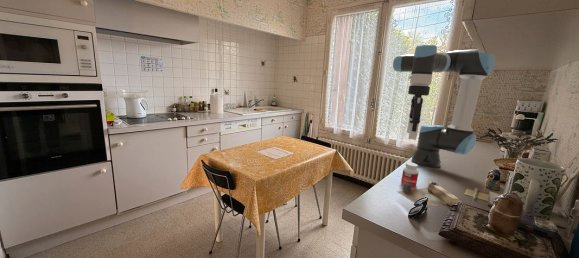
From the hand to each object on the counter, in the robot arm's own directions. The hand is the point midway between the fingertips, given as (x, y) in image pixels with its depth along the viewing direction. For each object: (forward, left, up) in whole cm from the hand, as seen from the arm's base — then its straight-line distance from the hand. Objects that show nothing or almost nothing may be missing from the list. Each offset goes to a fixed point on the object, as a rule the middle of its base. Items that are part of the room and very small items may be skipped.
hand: (411, 135), depth 100 cm
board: (-2, +11, -24) cm, 27 cm away
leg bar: (-7, +13, -22) cm, 27 cm away
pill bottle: (-3, 0, -24) cm, 24 cm away
